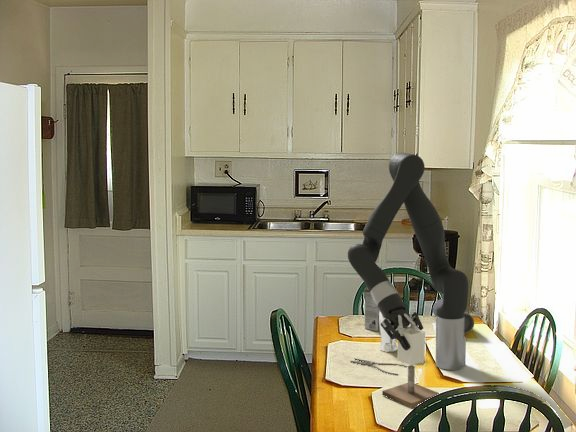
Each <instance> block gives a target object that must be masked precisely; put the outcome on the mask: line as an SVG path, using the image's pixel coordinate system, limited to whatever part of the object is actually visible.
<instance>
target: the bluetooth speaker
mask: <svg viewBox="0 0 576 432" xmlns="http://www.w3.org/2000/svg"><path fill="white" fill-rule="evenodd" d="M442 304H443V298H440V299H437V301H435V303H434V304H433V306H432V313H433V315H434V316H435V317H436V309H437V307H438V306H439V305H442ZM474 326H475V321H474V317H472V315H471V313H469V312H468V311H466V310H465V315H464V335H466V334H468V333H470V332H471V331H473V329H474Z"/></svg>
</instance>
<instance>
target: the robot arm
mask: <svg viewBox="0 0 576 432" xmlns="http://www.w3.org/2000/svg"><path fill="white" fill-rule="evenodd" d="M425 168H426V167H425V162H424V160H423V159H422V157H421V156H419V155H417V154H414V153H408V152H397V153H395V154H394V155H393V156H391V158H390V160H389V162H388V171H389V175H390V177H391V179H392V180H393V183H392V186H391V187H390V189H389V191H388V192H387V194H386V195H385V196H384V197H383V199H381V201H380V202H379V203H378V204H377V205H376V207H375V208H374V209H373V210H372V212H371V214H370V216H369V218H368V220H367V221H366V223H365V226H364V228H363V229H362V230H363V231H362V235H363V237H364V238H363V241H362V243H356V244H353V245H351V246H350V247H349V249H348V251H347V259H348V262H349V264H350V265H351V266H352V268H353V269H354V271H356V273H357V275H359V277H360V278H361V279H362V281H363V283H364V284H365V286H366V289H368V290H369V291H370V293H371V295H372V298H373V300H374V302H375V303H376V305H377V307H378V308H379V310H380V312H381V314H382V315H383V317H384V318H386V319H384V320H383V322H382V323H381V326H382V327H383V329H384V330H385V331H386V333H387V334H388V335H389V337H390V338H391V339H392V340H393V339H396V341H397V342H398V341H399V342H400V344H401V346H402V348H403V349H404V350H408V349H409V348H410V344H409V343H408V341H407V339H406V338H405V336H403V329H407V328H413V329H418V330H421V331H423V329H424V325H423V324H422V322H421V319H420V316H419V314H418V312H415V311H414V312H412V313H409V312H408V311H407V310H406V304H405V303H404V301H403V299H402V297H401V296H400V294H399V292H398V290H397V289H396V288H395V286H394V285H393V284H392V282H391V280H390V279H389V278H388V276H387V274H386V272H385V271H384V270H383V269H382V268H381V267H380V266H378V264H377V260H378V258H379V256H380V253H381V252H380V251H381V248H382V246H383V240H384V238H385V237H386V235H387V233H388V231H389V230H390V227H391V225H392V222H394V220H395V217H396V216H397V213H398V212H399V210H400V209H401V208H402V206H403V204H404V207H405V210H406V212H407V215H408V217H409V221H410V224H411V225H412V229H413V232H414V234H415V236H416V239H417V241H418V244H419V247H420V249H421V251H422V254H423V256H424V259H425V262H426V266H427V269H428V272H429V276H430V280H431V284H432V286H433V288H434V289H435V291H437V292H438V293H440V294H442V296H443V297H442V299H443V304H442V305H439V306H438V307H437V309H436V316H435V324H436V325H435V326H436V327H435V366H436V367H437V368H439V369H442V370H447V371H448V370H449V371H450V370H451V371H453V370H454V371H455V370H460V369H463V368H464V366H465V365H466V353H467V349H466V348H467V347H466V346H467V338H466V337H465V334H464V315H465V311H466V310H467V307H468V302H469V301H468V299H469V298H468V297H469V279H468V276H467V274H466V273H465V272H463V271H461V270H459V269H457V268H453V267H452V266H451V264H450V263H449V260H448V257H447V256H446V252H445V240H446V239H445V237H446V236H445V235H446V234H445V228H444V225H443V223H442V220H441V218H440V215H439V213H438V210H437V209H436V207H435V206H434V204H433V202H431V200H430V198H428V196H427V195H426V193H425V192H424V190H423V188H422V186H421V184H420V183H421V182H420V180H421V178H422V177H423V175H424V172H425ZM391 331H392V333H393V334H392V333H391ZM398 331H399V333H398Z"/></svg>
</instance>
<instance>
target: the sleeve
mask: <svg viewBox="0 0 576 432" xmlns="http://www.w3.org/2000/svg"><path fill="white" fill-rule="evenodd" d="M398 333H399V331H398ZM403 336H405V338H406V339H407V341H408V343H409V344H410V348H409V349H408V350H404V349H403V348H402V346H401V344H400V342H399V341H398V340H397V357H396V358H397V361H399V362H402V363H404V364H407V365H408V366H409V365H413V366H415V365H416V364H420V363H423V362H425V356H426V355H425V351H426V349H425V347H426V345H425V344H426V331H424V330H418V329H413V328H407V329H403Z"/></svg>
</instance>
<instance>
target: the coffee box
mask: <svg viewBox="0 0 576 432" xmlns="http://www.w3.org/2000/svg"><path fill="white" fill-rule="evenodd" d="M379 311H380V310H379V308H378V307H377V305H376V303H375V302H374V300H373V298H372V295H371V293H370V291H369V290H368V288H366V289H364V329H365V330H369V331H370V330H371V331H376V332H380V328H379Z"/></svg>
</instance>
